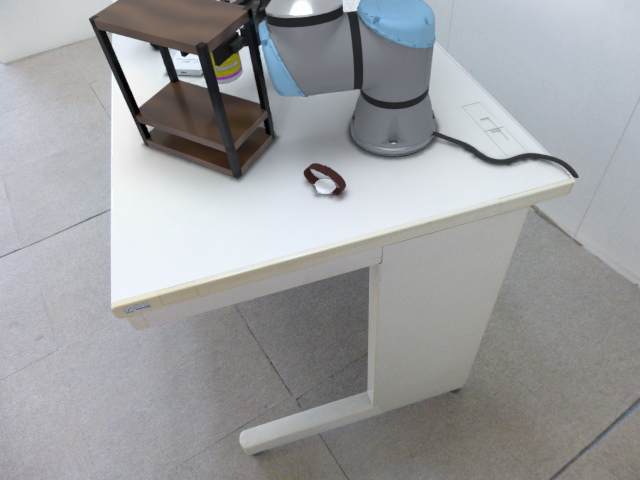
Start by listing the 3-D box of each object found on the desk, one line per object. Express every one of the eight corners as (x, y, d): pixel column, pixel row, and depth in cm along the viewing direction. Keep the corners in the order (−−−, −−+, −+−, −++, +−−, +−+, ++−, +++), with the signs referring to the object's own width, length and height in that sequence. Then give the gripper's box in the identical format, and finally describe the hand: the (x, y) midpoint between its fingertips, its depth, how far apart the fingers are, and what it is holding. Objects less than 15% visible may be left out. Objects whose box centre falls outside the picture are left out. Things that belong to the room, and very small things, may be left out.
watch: (314, 171, 86) (302, 187, 85) (307, 155, 82) (294, 172, 81) (351, 189, 83) (338, 206, 82) (345, 173, 79) (332, 190, 78)
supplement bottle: (249, 76, 91) (235, 5, 81) (217, 90, 89) (198, 19, 79) (232, 60, 94) (216, -9, 84) (201, 73, 92) (180, 4, 82)
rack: (184, 108, 101) (142, -16, 82) (275, 137, 93) (251, 7, 74) (144, 144, 95) (88, 18, 76) (238, 178, 87) (201, 47, 68)
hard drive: (220, 45, 116) (201, 76, 108) (187, 44, 117) (166, 74, 110) (218, 38, 114) (200, 69, 107) (185, 37, 116) (164, 67, 108)
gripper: (319, 21, 95) (249, 87, 83) (235, 3, 102) (161, 61, 90) (315, -20, 89) (240, 44, 77) (227, -36, 96) (146, 21, 84)
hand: (198, 53), depth 83 cm, fingers closed on supplement bottle, 7 cm apart
